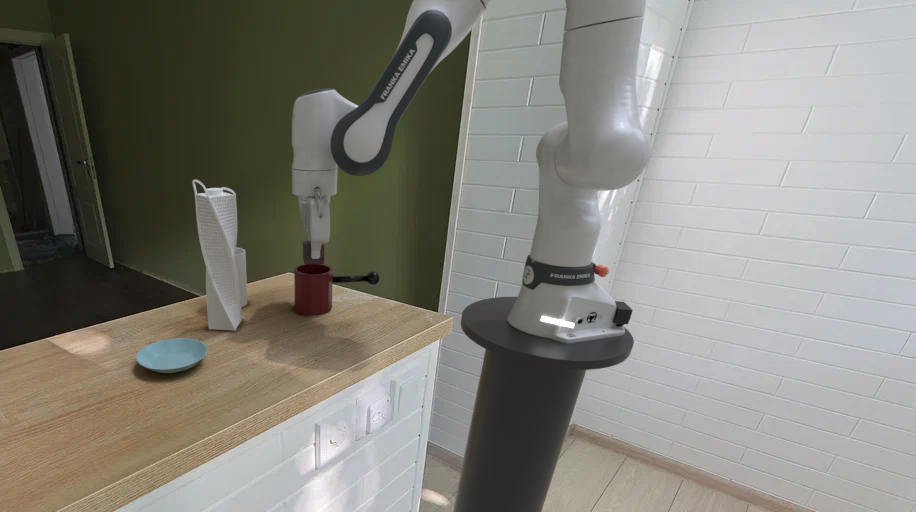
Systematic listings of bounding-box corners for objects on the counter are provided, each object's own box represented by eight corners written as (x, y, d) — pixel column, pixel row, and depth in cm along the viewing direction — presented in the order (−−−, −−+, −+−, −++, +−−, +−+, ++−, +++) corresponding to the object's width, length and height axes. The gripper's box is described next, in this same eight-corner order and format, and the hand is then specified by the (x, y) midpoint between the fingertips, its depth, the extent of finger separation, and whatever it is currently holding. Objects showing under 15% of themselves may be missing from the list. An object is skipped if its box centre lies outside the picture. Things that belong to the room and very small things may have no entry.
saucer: (131, 382, 77) (129, 370, 76) (145, 350, 88) (143, 338, 87) (205, 379, 78) (204, 367, 77) (210, 347, 89) (209, 336, 88)
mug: (224, 297, 112) (220, 246, 106) (252, 299, 111) (249, 247, 105) (208, 314, 103) (203, 259, 97) (238, 316, 102) (235, 260, 96)
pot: (373, 299, 111) (376, 261, 106) (382, 313, 104) (385, 272, 99) (293, 302, 109) (293, 263, 105) (296, 316, 102) (296, 275, 98)
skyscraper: (199, 331, 95) (183, 181, 82) (211, 316, 102) (198, 176, 89) (238, 333, 94) (228, 182, 81) (248, 318, 101) (240, 177, 88)
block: (321, 258, 103) (321, 240, 101) (324, 264, 99) (324, 245, 97) (302, 259, 102) (302, 240, 100) (304, 264, 99) (304, 245, 97)
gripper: (339, 192, 85) (336, 268, 91) (323, 177, 103) (322, 241, 109) (303, 193, 84) (303, 269, 91) (294, 177, 102) (294, 242, 109)
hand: (313, 254), depth 100 cm, fingers closed on block, 4 cm apart
